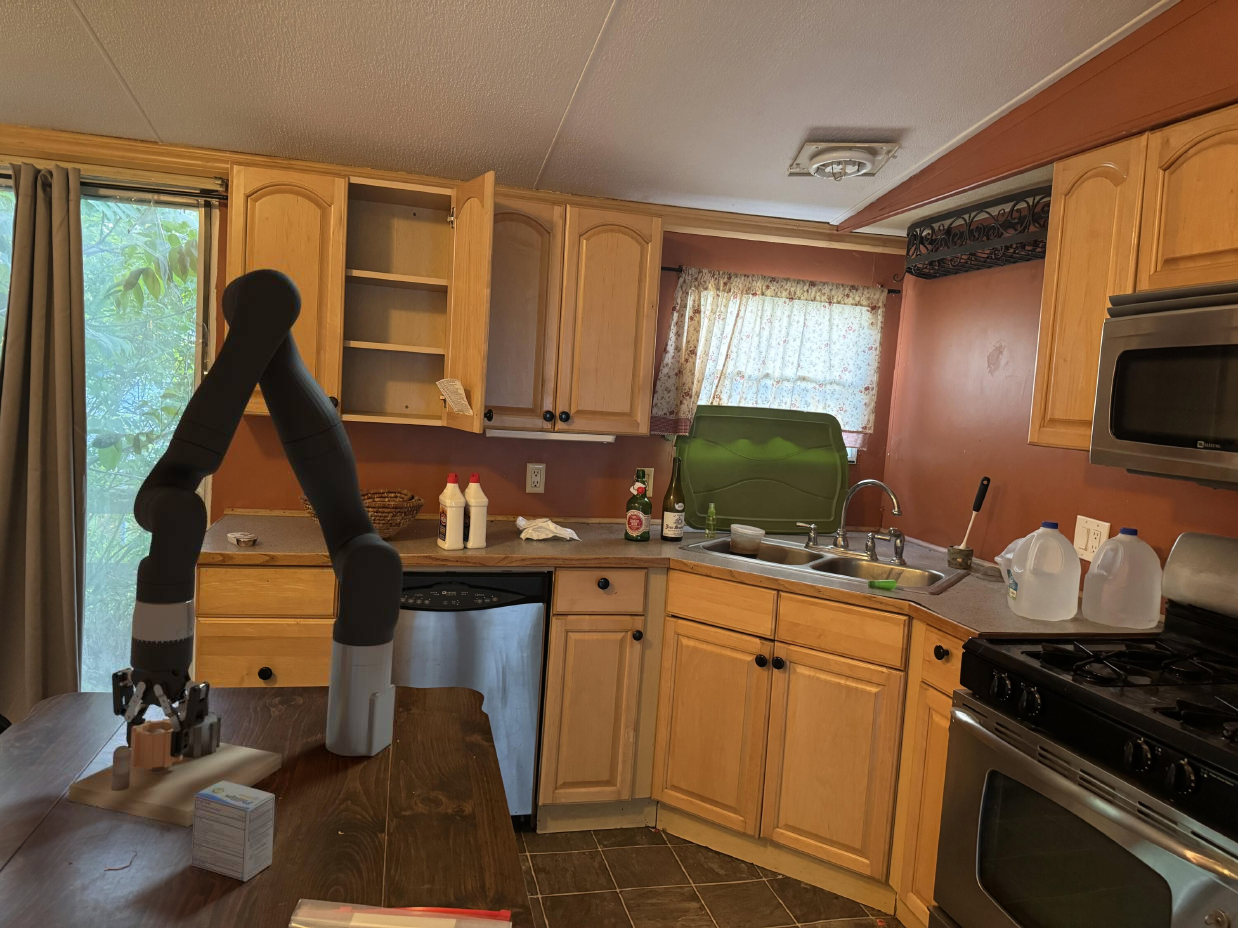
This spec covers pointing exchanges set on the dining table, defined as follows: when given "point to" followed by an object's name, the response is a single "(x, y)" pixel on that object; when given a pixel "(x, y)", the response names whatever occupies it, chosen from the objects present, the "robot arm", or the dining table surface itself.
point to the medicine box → (233, 830)
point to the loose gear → (152, 745)
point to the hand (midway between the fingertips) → (156, 750)
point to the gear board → (174, 776)
